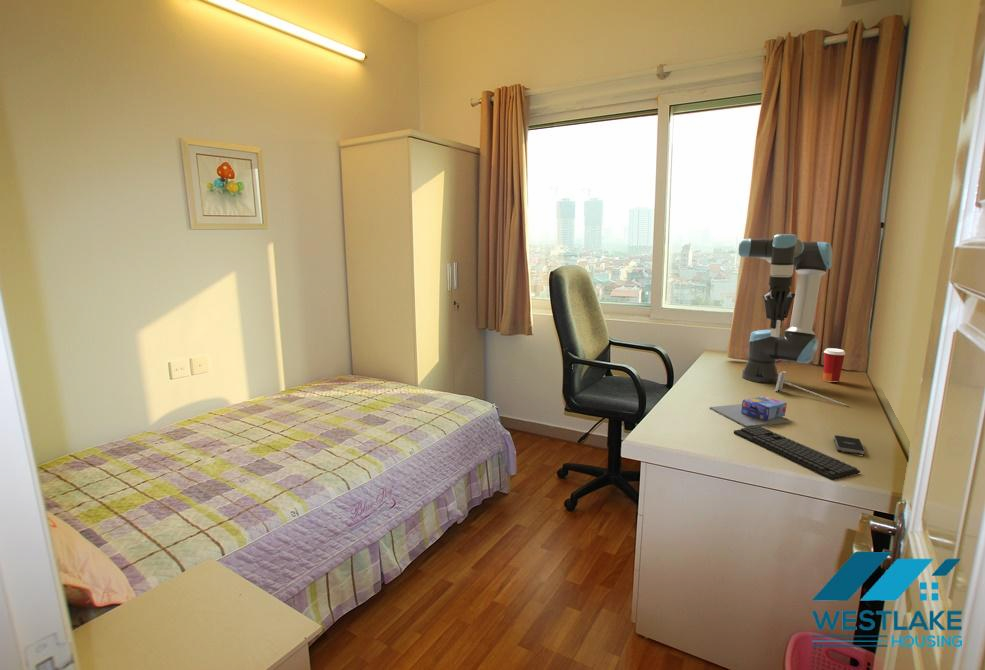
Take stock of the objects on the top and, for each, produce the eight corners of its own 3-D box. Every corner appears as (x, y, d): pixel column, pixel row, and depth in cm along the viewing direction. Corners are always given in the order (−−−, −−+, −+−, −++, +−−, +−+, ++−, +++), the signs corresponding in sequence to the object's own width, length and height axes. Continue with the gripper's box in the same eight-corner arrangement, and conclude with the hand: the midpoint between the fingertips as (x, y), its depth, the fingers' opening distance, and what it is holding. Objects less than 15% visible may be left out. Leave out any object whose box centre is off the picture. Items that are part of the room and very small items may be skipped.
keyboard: (732, 434, 169) (733, 428, 169) (757, 430, 173) (758, 424, 172) (831, 482, 136) (832, 475, 136) (860, 475, 140) (861, 469, 139)
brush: (845, 421, 192) (852, 400, 189) (774, 392, 213) (779, 373, 209) (849, 417, 194) (856, 397, 191) (778, 390, 215) (783, 371, 211)
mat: (748, 404, 197) (748, 403, 196) (788, 422, 177) (789, 421, 177) (709, 408, 193) (709, 407, 192) (746, 427, 173) (746, 425, 173)
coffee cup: (841, 380, 228) (845, 349, 225) (842, 385, 221) (846, 352, 218) (819, 377, 232) (823, 347, 230) (819, 382, 226) (824, 350, 223)
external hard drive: (837, 453, 154) (838, 447, 153) (833, 440, 163) (833, 434, 163) (864, 457, 150) (865, 451, 150) (858, 444, 160) (859, 438, 160)
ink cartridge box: (787, 402, 181) (761, 409, 175) (786, 416, 182) (760, 423, 176) (762, 394, 190) (737, 401, 184) (761, 407, 191) (736, 415, 185)
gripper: (787, 274, 190) (781, 333, 195) (758, 275, 187) (753, 335, 193) (803, 275, 183) (796, 337, 188) (774, 277, 180) (768, 340, 185)
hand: (774, 336), depth 190 cm, fingers closed
